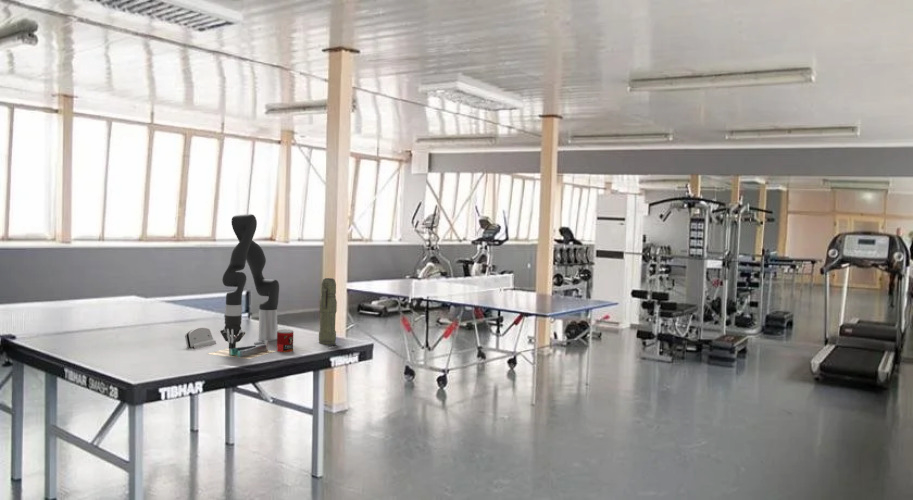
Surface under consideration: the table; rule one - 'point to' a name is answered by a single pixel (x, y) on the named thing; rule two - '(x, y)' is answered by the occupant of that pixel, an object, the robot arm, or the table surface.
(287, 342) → the canned food
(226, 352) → the board
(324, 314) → the green moai statue
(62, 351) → the table surface
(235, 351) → the tong arm
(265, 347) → the tongs fixed
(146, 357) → the table surface
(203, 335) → the grey curved block
